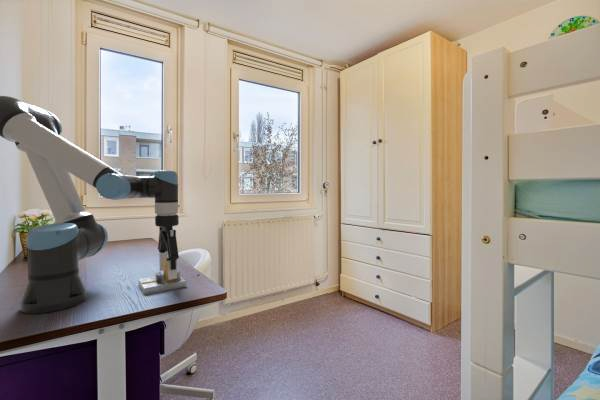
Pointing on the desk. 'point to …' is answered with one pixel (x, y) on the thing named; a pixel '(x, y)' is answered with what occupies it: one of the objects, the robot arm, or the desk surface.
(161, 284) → the junction plate
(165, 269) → the beige block
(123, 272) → the desk surface
